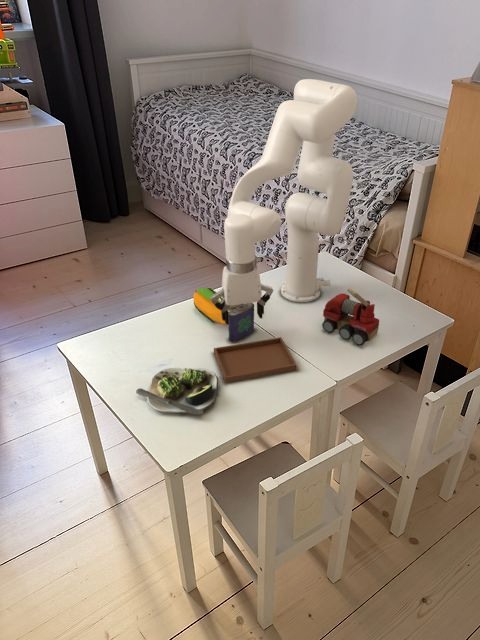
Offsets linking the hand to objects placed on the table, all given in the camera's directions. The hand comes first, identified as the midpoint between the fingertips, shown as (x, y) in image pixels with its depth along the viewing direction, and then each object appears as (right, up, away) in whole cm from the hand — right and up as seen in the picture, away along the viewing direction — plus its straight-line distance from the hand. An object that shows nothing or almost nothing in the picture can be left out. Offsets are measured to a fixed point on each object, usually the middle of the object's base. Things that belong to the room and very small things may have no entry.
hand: (243, 318), depth 150 cm
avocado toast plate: (-13, -21, -17) cm, 30 cm away
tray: (+4, -12, -6) cm, 14 cm away
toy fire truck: (+30, -4, +5) cm, 30 cm away
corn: (-9, +1, +9) cm, 13 cm away
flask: (-1, -5, +3) cm, 5 cm away
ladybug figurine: (-4, +7, +17) cm, 19 cm away
